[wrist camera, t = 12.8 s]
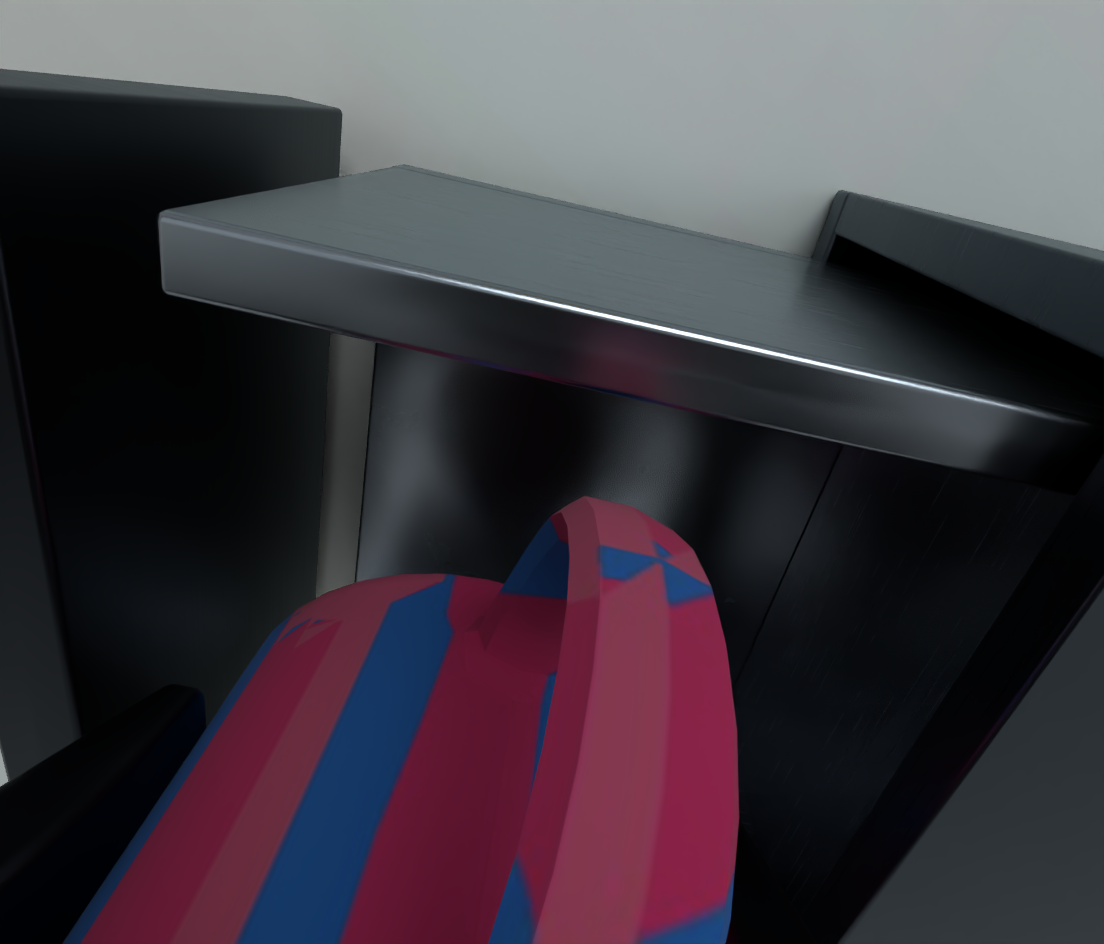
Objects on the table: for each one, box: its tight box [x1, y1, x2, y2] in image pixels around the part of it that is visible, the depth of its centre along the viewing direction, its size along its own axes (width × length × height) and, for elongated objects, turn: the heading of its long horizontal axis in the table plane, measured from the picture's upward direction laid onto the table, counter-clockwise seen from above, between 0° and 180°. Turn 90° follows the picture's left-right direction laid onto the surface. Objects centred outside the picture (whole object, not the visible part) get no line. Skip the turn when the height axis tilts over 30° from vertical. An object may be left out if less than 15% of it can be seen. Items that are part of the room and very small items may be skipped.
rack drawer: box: [0, 69, 1104, 916], centre depth 13 cm, size 18×13×9 cm
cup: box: [62, 496, 739, 944], centre depth 7 cm, size 7×10×7 cm
